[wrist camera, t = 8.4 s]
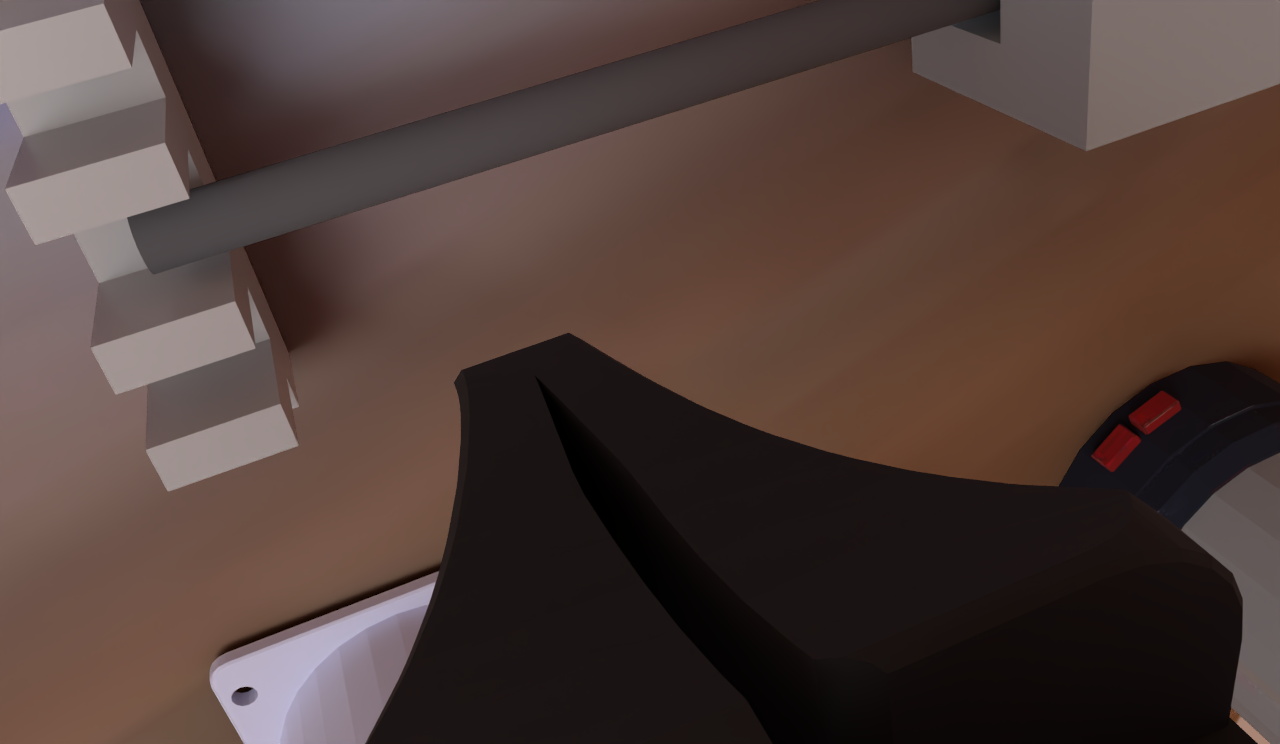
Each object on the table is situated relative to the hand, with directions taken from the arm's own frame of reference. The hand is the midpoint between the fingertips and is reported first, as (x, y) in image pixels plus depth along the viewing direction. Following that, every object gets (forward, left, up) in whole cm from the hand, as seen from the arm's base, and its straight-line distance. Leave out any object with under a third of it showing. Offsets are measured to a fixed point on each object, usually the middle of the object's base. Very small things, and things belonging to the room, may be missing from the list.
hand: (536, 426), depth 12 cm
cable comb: (+1, +4, -9) cm, 10 cm away
